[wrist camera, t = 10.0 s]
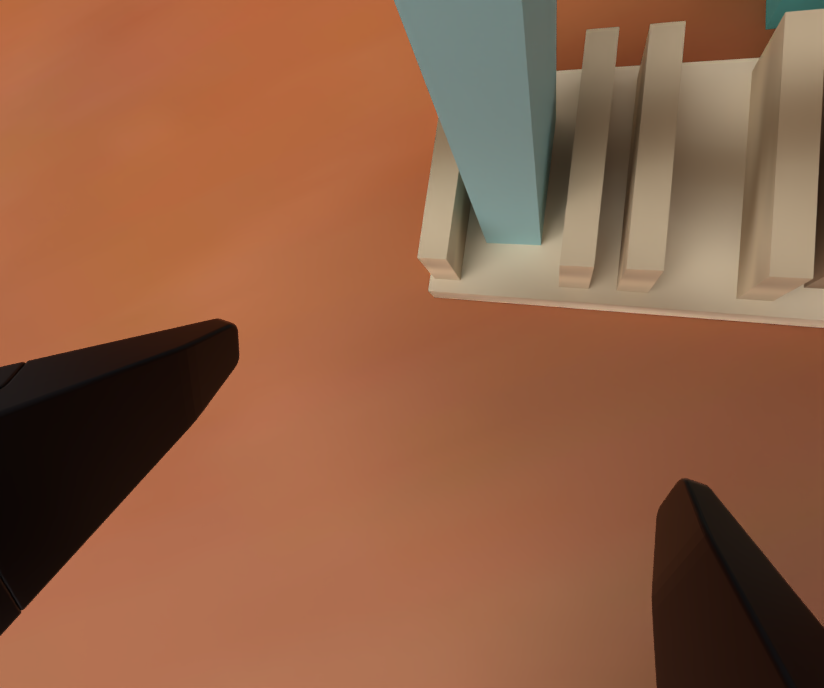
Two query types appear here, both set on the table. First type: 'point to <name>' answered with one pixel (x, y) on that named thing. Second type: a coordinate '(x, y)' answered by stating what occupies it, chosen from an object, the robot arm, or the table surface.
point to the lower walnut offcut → (819, 217)
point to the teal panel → (493, 102)
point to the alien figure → (787, 9)
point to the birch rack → (660, 188)
